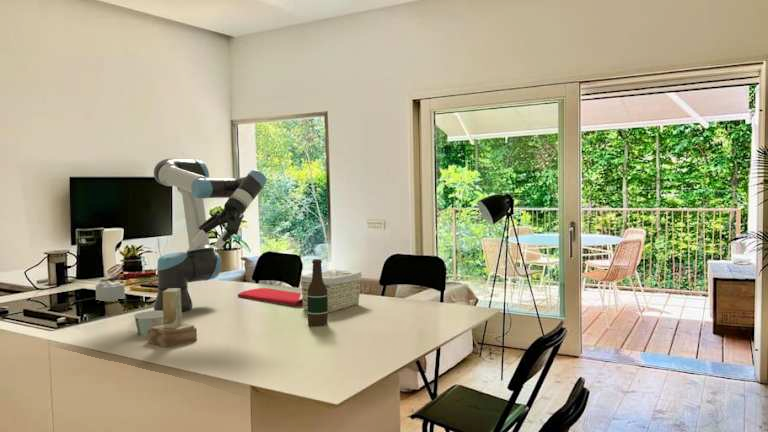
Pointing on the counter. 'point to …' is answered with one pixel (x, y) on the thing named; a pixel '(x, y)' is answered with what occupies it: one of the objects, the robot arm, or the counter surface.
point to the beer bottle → (317, 297)
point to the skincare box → (172, 308)
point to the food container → (148, 321)
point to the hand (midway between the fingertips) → (205, 246)
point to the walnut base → (172, 335)
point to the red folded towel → (273, 296)
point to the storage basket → (336, 288)
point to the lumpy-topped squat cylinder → (110, 291)
